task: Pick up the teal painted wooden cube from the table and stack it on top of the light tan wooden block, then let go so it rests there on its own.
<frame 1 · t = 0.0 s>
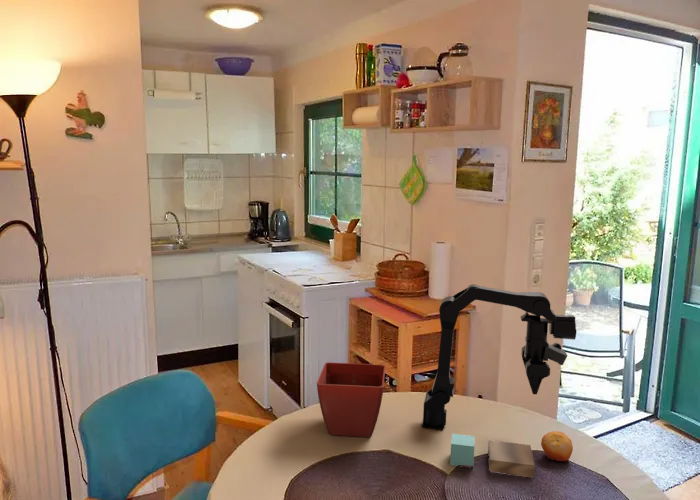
hand: (533, 388, 163), 15 cm above the table, tool pointing down, fingers open, 9 cm apart
light tan wooden block: (509, 466, 149), on the table
plant pot: (351, 427, 169), on the table
teal cube: (461, 460, 150), on the table
fruit: (555, 458, 153), on the table
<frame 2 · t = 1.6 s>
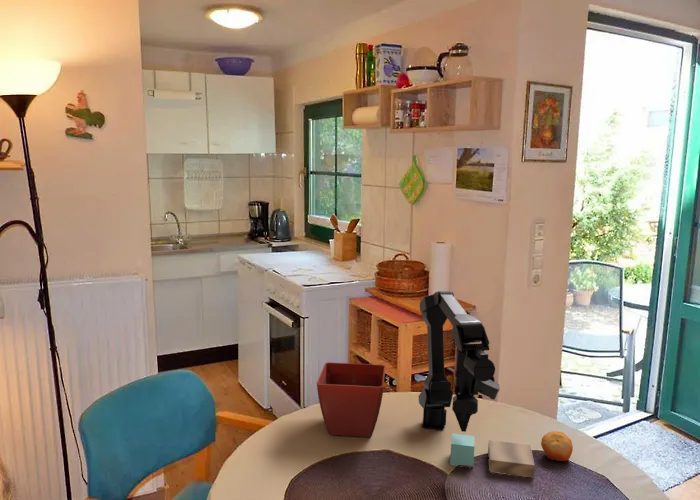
hand: (463, 423, 149), 10 cm above the table, tool pointing down, fingers open, 9 cm apart
nothing on the table moved.
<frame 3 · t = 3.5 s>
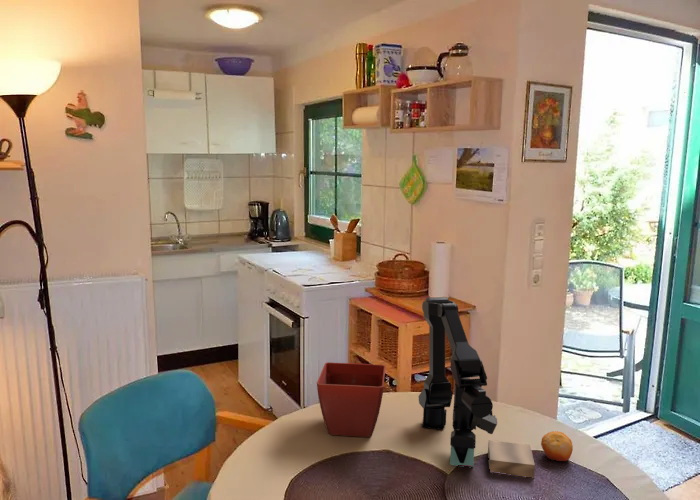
hand: (462, 456, 150), 1 cm above the table, tool pointing down, fingers closed on teal cube, 6 cm apart
teal cube: (461, 460, 150), on the table, touching gripper
everything else where it was.
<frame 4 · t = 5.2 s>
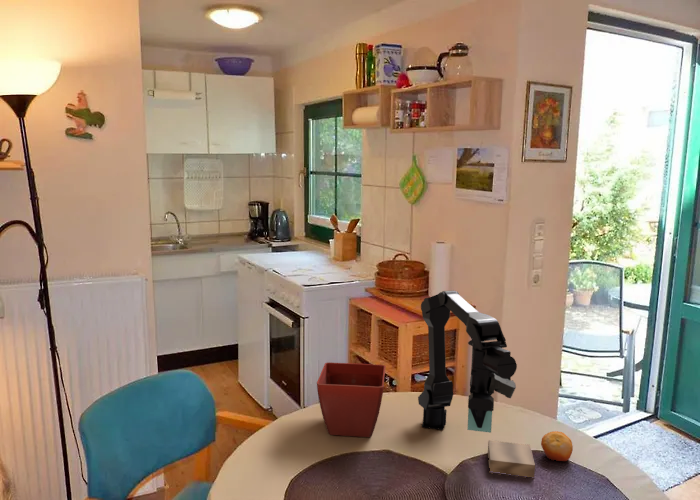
hand: (479, 422, 148), 11 cm above the table, tool pointing down, fingers closed on teal cube, 6 cm apart
teal cube: (479, 426, 148), point 10 cm above the table, touching gripper
everything else where it was.
when the fingers open (6 cm above the table, at t = 7.4 s): teal cube drops 2 cm, resting on light tan wooden block.
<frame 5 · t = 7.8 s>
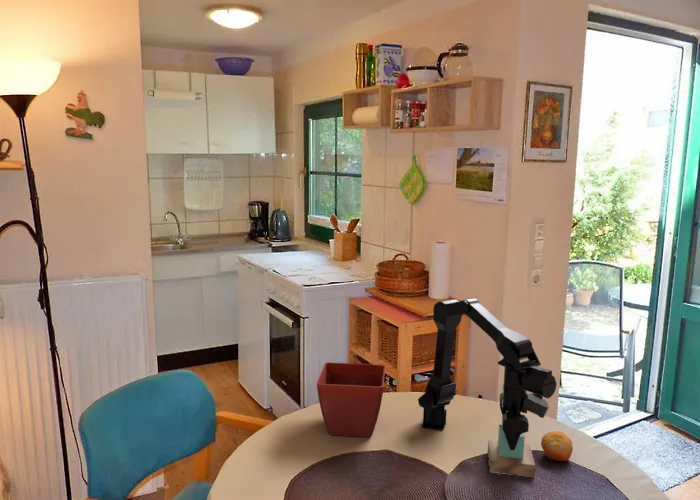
hand: (511, 441, 148), 6 cm above the table, tool pointing down, fingers open, 9 cm apart
light tan wooden block: (509, 466, 149), on the table, touching teal cube
teal cube: (510, 452, 148), point 4 cm above the table, touching light tan wooden block
everything else where it was.
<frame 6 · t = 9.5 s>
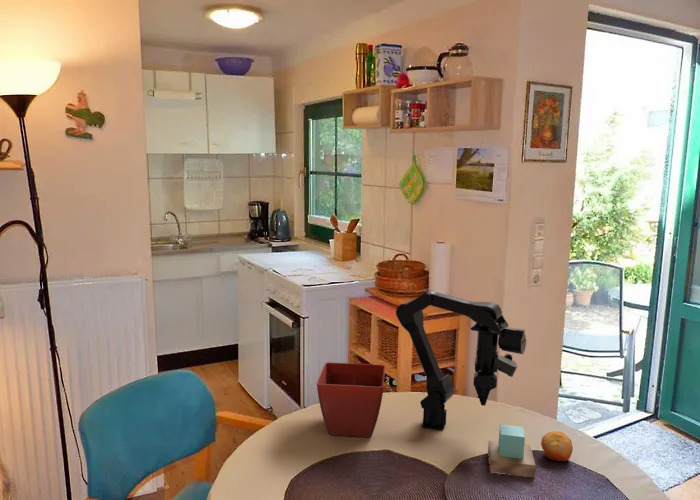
hand: (483, 398, 162), 12 cm above the table, tool pointing down, fingers open, 9 cm apart
light tan wooden block: (510, 466, 148), on the table
teal cube: (510, 452, 148), point 4 cm above the table
everything else where it was.
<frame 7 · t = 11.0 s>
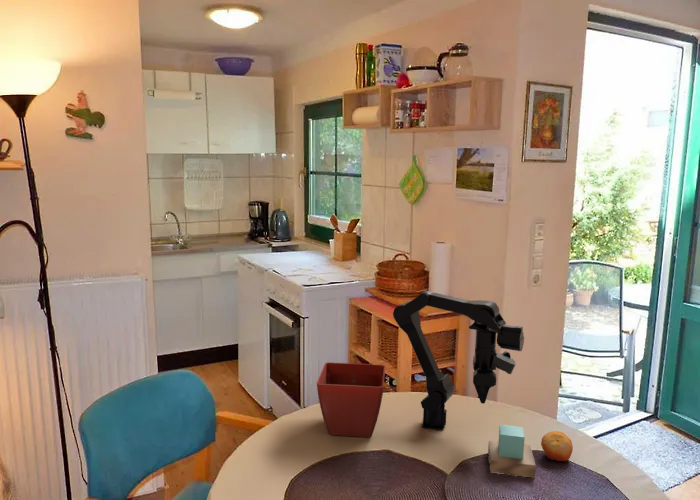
hand: (482, 397, 163), 12 cm above the table, tool pointing down, fingers open, 9 cm apart
light tan wooden block: (510, 466, 148), on the table, touching teal cube
teal cube: (510, 452, 148), point 4 cm above the table, touching light tan wooden block
everything else where it was.
at the end: teal cube 0.2 cm off-centre on the light tan wooden block, point 4.0 cm above the light tan wooden block's base; teal cube touching light tan wooden block; teal cube tilted 0° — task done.
